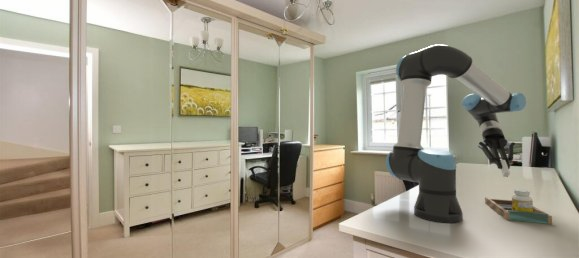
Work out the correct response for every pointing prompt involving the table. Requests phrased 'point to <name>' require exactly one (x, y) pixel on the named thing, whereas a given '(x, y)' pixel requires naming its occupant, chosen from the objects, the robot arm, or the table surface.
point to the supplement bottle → (522, 201)
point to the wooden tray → (517, 212)
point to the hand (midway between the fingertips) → (506, 174)
